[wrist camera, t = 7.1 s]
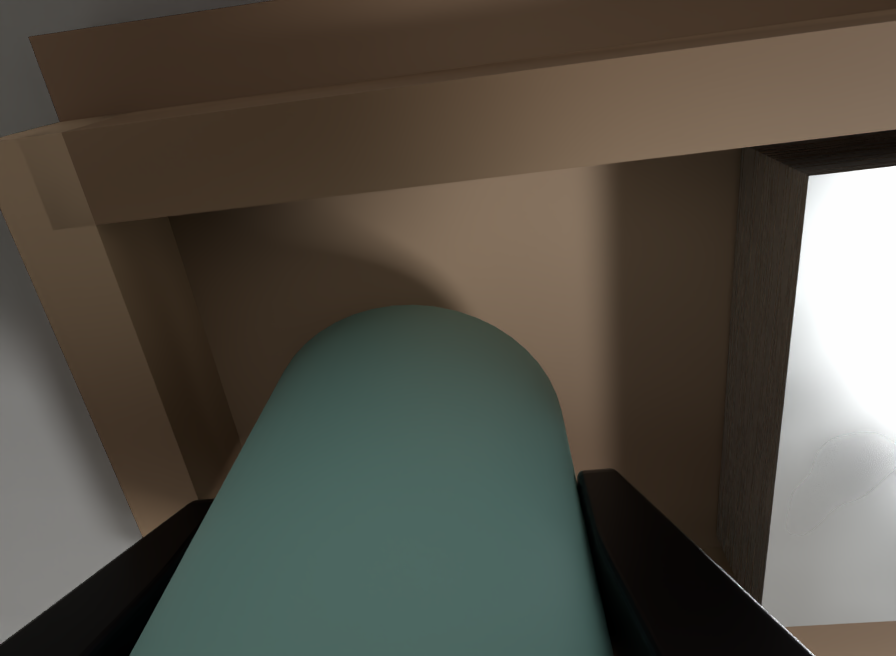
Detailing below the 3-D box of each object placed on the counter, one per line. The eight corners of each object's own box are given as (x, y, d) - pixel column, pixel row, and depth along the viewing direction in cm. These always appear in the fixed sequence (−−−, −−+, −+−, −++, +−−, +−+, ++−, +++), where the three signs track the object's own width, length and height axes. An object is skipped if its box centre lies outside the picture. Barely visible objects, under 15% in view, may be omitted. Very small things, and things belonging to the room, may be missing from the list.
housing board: (1129, 718, 14) (1270, 870, 12) (324, 751, 16) (296, 890, 13) (1585, -189, 7) (2168, -296, 5) (82, 34, 9) (-72, 41, 6)
